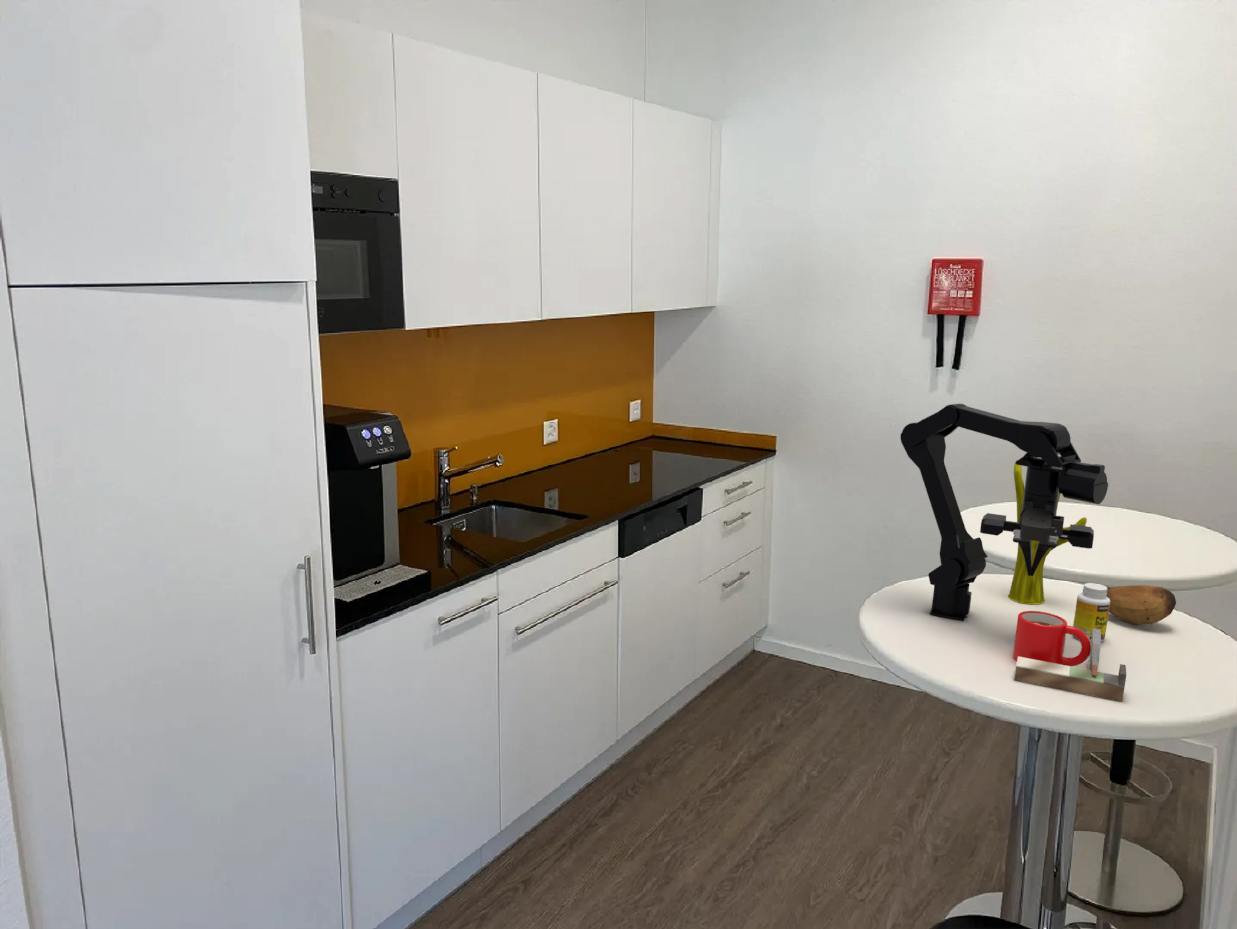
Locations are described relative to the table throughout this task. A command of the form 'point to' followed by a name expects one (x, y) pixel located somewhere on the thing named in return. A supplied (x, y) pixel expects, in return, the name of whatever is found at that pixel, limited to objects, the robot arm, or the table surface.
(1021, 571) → the glove
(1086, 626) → the supplement bottle
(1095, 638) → the grey flat piece
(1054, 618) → the mug
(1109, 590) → the potato
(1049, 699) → the table surface
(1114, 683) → the gauge rail
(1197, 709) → the table surface
